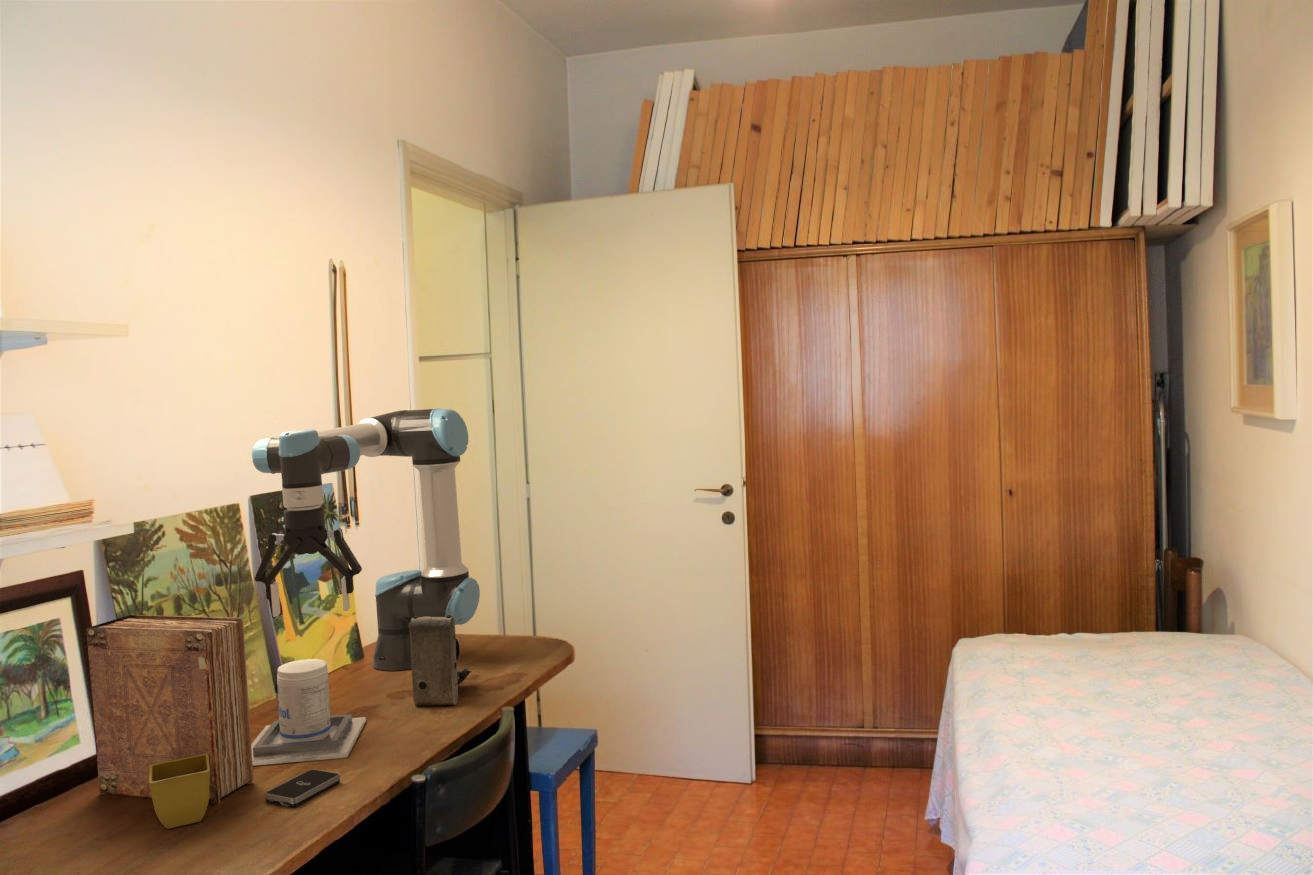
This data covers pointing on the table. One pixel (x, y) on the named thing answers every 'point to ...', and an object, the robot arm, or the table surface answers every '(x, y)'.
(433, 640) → the vintage camera
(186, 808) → the flower pot
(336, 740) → the mounting plate
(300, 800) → the external hard drive
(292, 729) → the supplement tub
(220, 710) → the book
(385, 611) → the robot arm
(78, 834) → the table surface
